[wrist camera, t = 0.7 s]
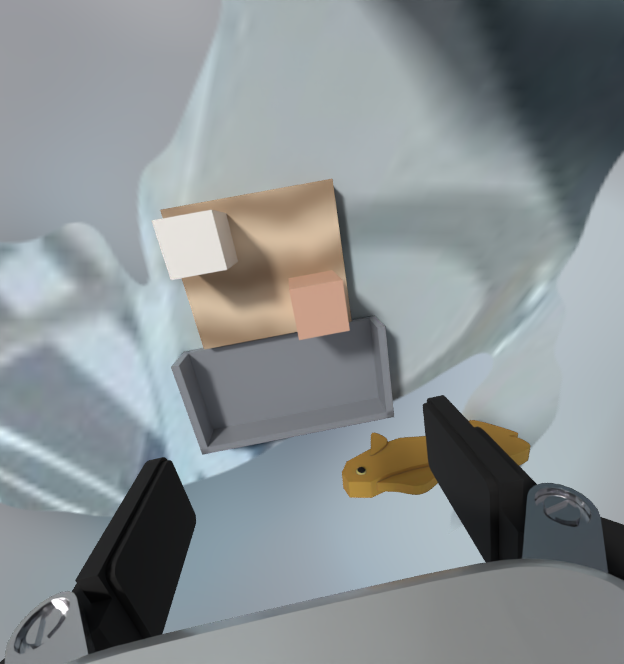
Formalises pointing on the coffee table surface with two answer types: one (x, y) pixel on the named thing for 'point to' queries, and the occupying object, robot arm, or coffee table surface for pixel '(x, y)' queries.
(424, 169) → the coffee table surface
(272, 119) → the coffee table surface
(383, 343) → the box
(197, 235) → the cream block
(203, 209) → the board
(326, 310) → the terracotta block
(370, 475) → the decorative fish
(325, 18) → the coffee table surface
